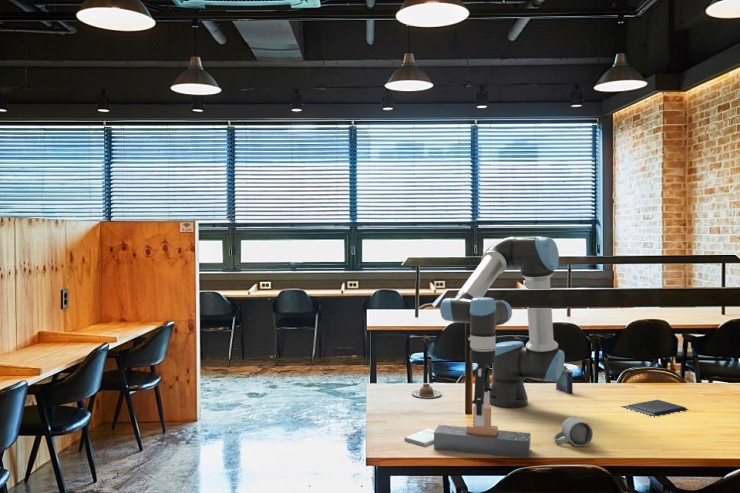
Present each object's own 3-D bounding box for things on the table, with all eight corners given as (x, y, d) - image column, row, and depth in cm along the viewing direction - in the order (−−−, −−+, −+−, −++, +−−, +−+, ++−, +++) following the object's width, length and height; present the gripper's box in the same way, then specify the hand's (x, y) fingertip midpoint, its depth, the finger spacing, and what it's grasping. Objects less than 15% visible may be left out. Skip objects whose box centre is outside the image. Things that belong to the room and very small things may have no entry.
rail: (438, 440, 199) (438, 424, 199) (530, 449, 191) (530, 433, 191) (433, 448, 192) (433, 432, 191) (529, 458, 183) (529, 441, 183)
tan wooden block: (467, 442, 194) (468, 404, 194) (497, 445, 191) (497, 406, 191) (466, 446, 191) (466, 406, 191) (496, 449, 189) (496, 409, 188)
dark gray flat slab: (652, 413, 224) (619, 403, 238) (652, 419, 224) (619, 408, 238) (691, 407, 232) (656, 397, 246) (691, 412, 232) (656, 402, 246)
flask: (554, 388, 264) (554, 363, 263) (560, 388, 265) (560, 362, 264) (568, 394, 255) (569, 368, 255) (574, 393, 256) (575, 367, 256)
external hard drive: (404, 442, 199) (427, 432, 209) (425, 448, 194) (448, 438, 203) (404, 437, 199) (427, 427, 208) (425, 443, 194) (448, 433, 203)
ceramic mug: (582, 437, 202) (582, 414, 202) (593, 446, 194) (593, 421, 193) (549, 439, 201) (549, 415, 201) (559, 448, 193) (559, 423, 192)
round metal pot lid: (441, 392, 259) (441, 381, 259) (441, 400, 247) (441, 388, 247) (412, 391, 261) (412, 380, 261) (410, 399, 249) (410, 387, 249)
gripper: (475, 341, 203) (475, 406, 204) (463, 356, 180) (463, 430, 180) (499, 342, 201) (498, 408, 202) (490, 357, 177) (490, 432, 178)
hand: (482, 419), depth 191 cm, fingers open, 13 cm apart
